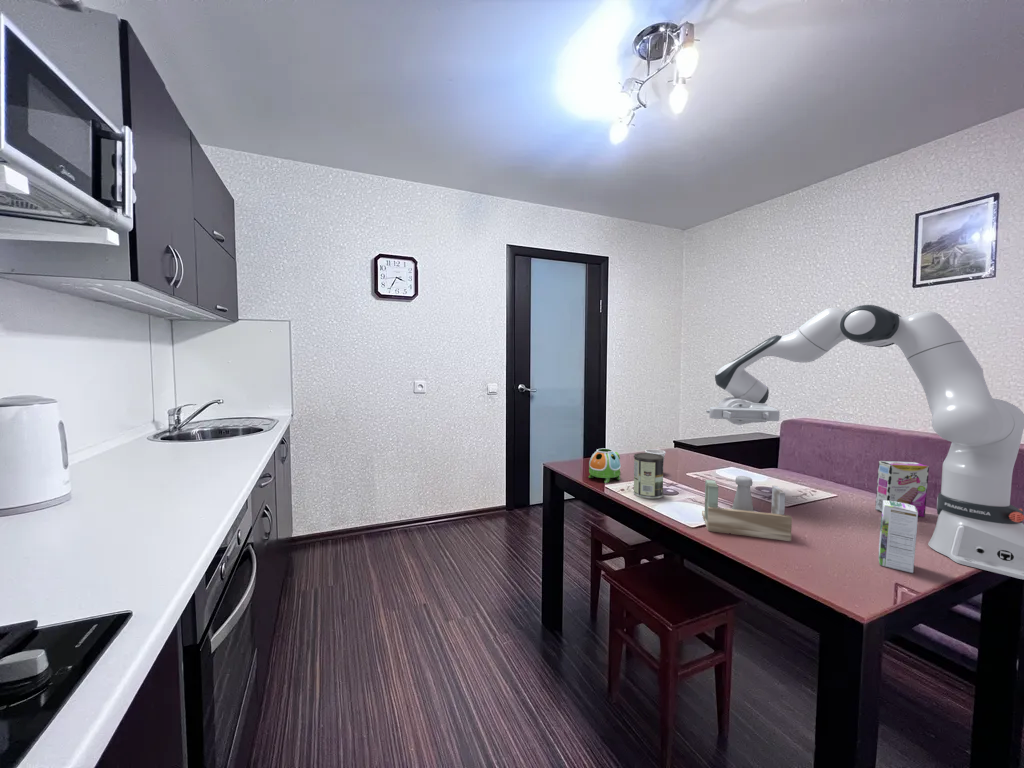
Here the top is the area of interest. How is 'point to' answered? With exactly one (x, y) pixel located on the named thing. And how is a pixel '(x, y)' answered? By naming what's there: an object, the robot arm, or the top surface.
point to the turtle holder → (605, 464)
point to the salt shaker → (743, 494)
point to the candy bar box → (902, 484)
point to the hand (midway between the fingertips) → (748, 416)
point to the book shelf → (747, 517)
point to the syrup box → (898, 536)
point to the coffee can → (648, 475)
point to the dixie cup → (656, 452)
